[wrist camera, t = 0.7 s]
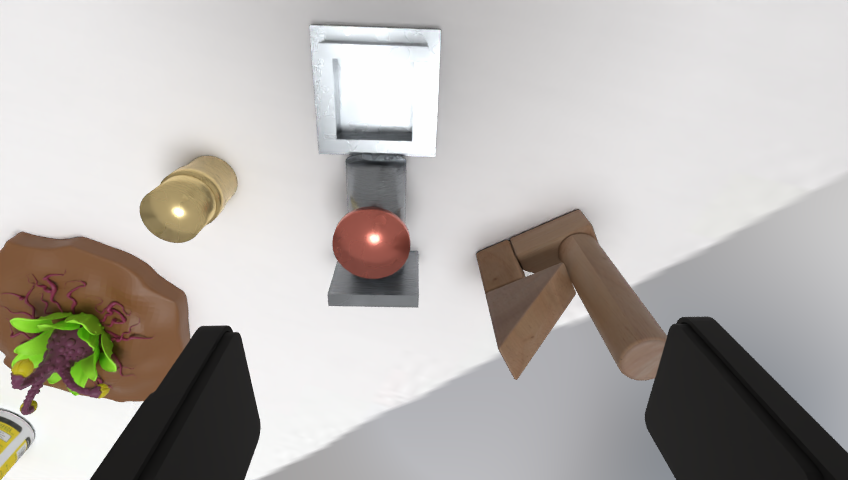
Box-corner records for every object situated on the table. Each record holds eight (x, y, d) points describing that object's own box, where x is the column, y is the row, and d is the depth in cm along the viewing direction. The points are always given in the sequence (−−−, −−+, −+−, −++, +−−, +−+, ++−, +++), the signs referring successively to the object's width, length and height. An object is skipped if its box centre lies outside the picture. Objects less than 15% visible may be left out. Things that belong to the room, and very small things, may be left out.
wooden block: (474, 251, 45) (506, 389, 29) (579, 206, 43) (674, 329, 27) (488, 279, 47) (526, 424, 31) (590, 237, 45) (686, 370, 29)
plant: (209, 272, 46) (153, 346, 36) (182, 401, 55) (131, 490, 45) (-9, 206, 43) (-138, 270, 33) (-2, 356, 51) (-102, 442, 41)
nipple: (179, 152, 40) (129, 186, 33) (235, 154, 40) (196, 187, 33) (190, 203, 42) (145, 244, 35) (243, 204, 42) (209, 245, 35)
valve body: (311, 24, 35) (285, 31, 28) (440, 29, 36) (446, 37, 28) (329, 260, 45) (312, 309, 38) (429, 262, 46) (432, 311, 38)
